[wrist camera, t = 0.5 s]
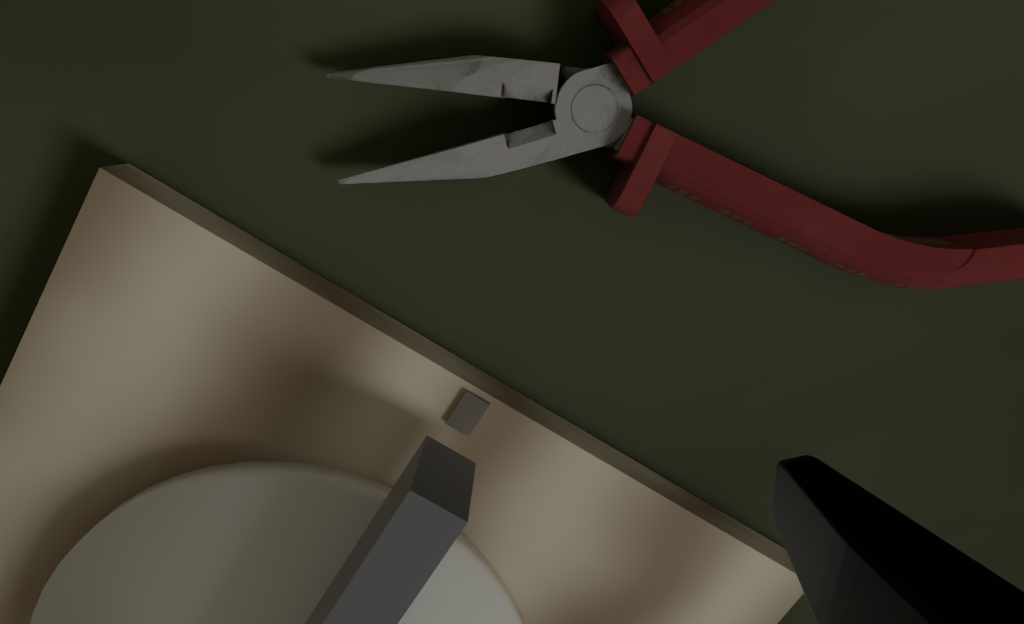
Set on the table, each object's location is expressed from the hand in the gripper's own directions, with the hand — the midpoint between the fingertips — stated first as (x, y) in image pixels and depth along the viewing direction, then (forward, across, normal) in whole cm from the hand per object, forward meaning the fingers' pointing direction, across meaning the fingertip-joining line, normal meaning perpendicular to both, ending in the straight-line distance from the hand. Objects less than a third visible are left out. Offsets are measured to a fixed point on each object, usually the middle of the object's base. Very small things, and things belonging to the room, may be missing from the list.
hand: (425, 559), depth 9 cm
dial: (+8, +6, +14) cm, 18 cm away
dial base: (+10, +6, +16) cm, 20 cm away
